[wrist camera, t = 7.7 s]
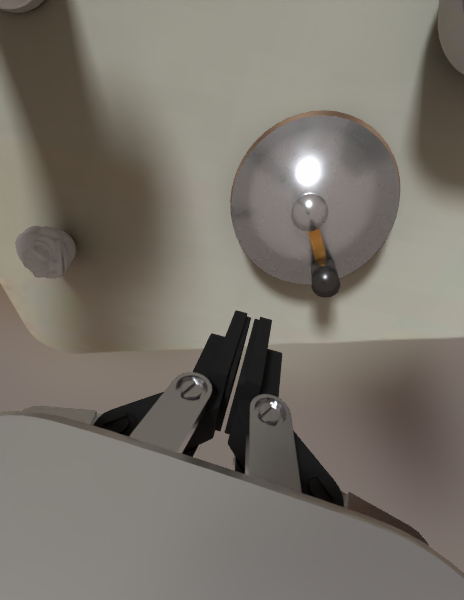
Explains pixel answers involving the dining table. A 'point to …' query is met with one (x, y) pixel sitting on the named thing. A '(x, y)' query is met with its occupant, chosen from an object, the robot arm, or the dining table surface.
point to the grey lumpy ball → (45, 251)
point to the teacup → (452, 31)
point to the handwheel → (315, 201)
